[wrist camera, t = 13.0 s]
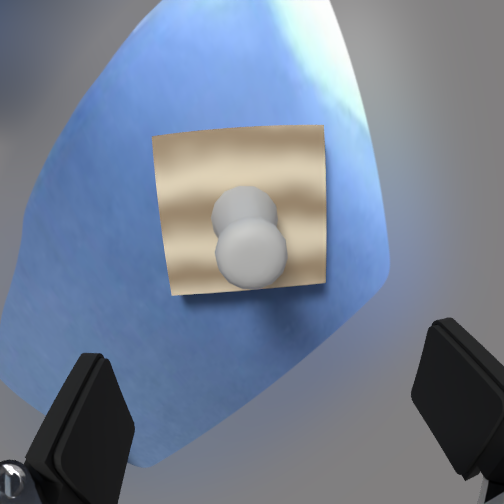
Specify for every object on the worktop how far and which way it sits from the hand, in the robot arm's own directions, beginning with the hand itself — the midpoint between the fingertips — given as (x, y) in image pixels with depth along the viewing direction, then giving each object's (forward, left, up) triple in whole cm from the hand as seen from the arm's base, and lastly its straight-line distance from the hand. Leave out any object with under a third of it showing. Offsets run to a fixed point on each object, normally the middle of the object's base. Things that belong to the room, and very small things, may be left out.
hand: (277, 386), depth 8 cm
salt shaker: (0, 0, -23) cm, 23 cm away
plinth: (0, 0, -26) cm, 26 cm away
